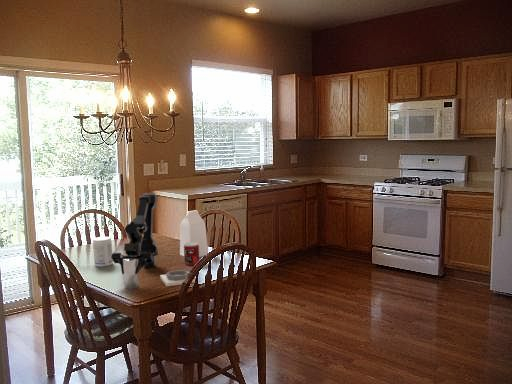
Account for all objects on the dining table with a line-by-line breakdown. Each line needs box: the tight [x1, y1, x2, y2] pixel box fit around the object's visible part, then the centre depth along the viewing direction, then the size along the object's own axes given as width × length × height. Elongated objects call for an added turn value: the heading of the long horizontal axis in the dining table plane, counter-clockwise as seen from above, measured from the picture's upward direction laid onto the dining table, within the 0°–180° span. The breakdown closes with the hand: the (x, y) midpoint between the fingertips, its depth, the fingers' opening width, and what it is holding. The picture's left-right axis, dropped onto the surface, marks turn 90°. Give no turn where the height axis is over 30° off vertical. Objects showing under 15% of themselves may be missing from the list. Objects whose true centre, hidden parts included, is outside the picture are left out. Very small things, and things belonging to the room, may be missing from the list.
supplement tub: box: [92, 236, 114, 268], centre depth 254 cm, size 10×10×15 cm
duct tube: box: [123, 258, 139, 290], centre depth 217 cm, size 6×6×13 cm
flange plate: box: [159, 269, 195, 287], centre depth 226 cm, size 14×14×4 cm
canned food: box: [183, 242, 200, 266], centre depth 254 cm, size 8×8×11 cm
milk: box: [179, 209, 209, 258], centre depth 270 cm, size 12×12×26 cm
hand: (129, 274), depth 215 cm, fingers closed on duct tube, 6 cm apart
